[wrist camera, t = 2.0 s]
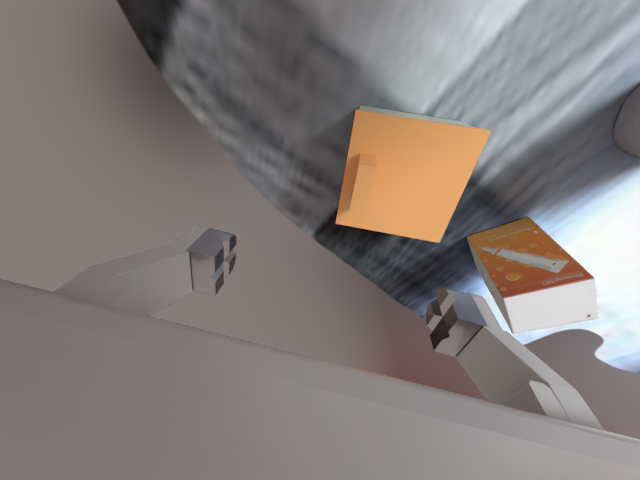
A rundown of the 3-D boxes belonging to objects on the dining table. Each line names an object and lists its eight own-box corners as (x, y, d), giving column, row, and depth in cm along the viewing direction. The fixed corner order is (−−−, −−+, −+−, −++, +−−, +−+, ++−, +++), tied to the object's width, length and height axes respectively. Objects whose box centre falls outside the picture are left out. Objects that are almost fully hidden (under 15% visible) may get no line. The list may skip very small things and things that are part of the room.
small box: (527, 214, 35) (598, 277, 25) (534, 249, 38) (601, 320, 27) (464, 235, 38) (502, 299, 28) (474, 266, 41) (513, 335, 30)
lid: (483, 127, 25) (511, 140, 20) (435, 234, 32) (448, 263, 27) (356, 107, 26) (353, 116, 21) (336, 216, 33) (331, 241, 28)
